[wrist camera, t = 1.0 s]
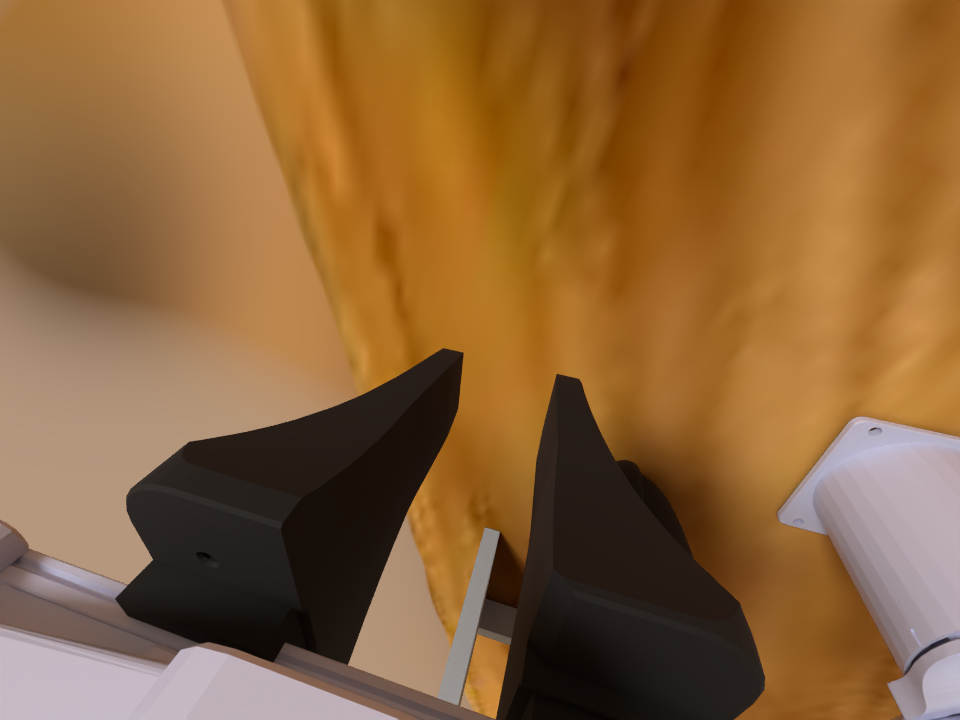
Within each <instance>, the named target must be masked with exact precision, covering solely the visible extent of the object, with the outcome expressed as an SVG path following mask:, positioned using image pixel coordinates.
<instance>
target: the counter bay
mask: <svg viewBox="0 0 960 720" xmlns="http://www.w3.org/2000/svg"><path fill="white" fill-rule="evenodd" d="M499 534H500V532H499V531H496V530H492V529H489V528H486V527H485V529H484V533H483V536H482V540H481V544H480V547H479V551H478V554H477V558H476V562H475V565H474V569H473V572H472V576H471V579H470V583H469V587H468V590H467V594H466V597H465V601H464V604H463V608H462V612H461V615H460V619H459V622H458V626H457V629H456V633H455V637H454V640H453V644H452V647H451V651H450V655H449V658H448V662H447V665H446V669H445V672H444V676H443V680H442V683H441V687H440V690H439V694H438V699H441V700H444V701H447V702H449V703H452V704H455V705H458V706H460V704H461V700H462V696H463V691H464V687H465V683H466V679H467V675H468V670H469V666H470V662H471V658H472V654H473V649H474V645H475V641H476V637H477V634H479V635H481V636H484V637H487V638H490V639H493V640H496V641H499V642H502V643H505V644H508V645H510V644H511V639H512V634H513V628H514V623H515V618H516V613H517V609H516V608H513V607H510V606H507V605H504V604H501V603H498V602H495V601H491V600H488V599H486V594H487V590H488V585H489V580H490V576H491V571H492V566H493V562H494V557H495V553H496V548H497V543H498V539H499Z"/></svg>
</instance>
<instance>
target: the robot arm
mask: <svg viewBox="0 0 960 720" xmlns="http://www.w3.org/2000/svg"><path fill="white" fill-rule="evenodd" d="M463 354H464V353H462V352H458V351H453V350H449V349H445V348H443V349H441V350H440V351H438V352H436V353H435V354H433V355H432V356H430V357H428V358H427V359H425V360H424V361H422V362H420V363H419V364H417V365H416V366H414V367H412V368H411V369H409V370H407V371H406V372H404V373H402V374H401V375H399V376H397V377H396V378H394V379H392V380H390V381H388V382H386V383H384V384H383V385H381V386H379V387H377V388H375V389H373V390H371V391H369V392H367V393H365V394H363V395H361V396H359V397H356V398H354V399H352V400H349V401H347V402H344V403H342V404H340V405H337V406H334V407H332V408H329V409H326V410H323V411H320V412H317V413H314V414H311V415H308V416H305V417H302V418H299V419H296V420H292V421H289V422H285V423H281V424H278V425H274V426H270V427H266V428H262V429H257V430H253V431H248V432H243V433H238V434H233V435H227V436H221V437H216V438H210V439H205V440H198V441H192V442H189V443H187V444H186V445H185V446H183V447H182V448H181V449H180V450H178V451H177V452H176V453H175V454H173V455H172V456H171V457H170V458H168V459H167V460H166V461H165V462H163V463H162V464H161V465H160V466H158V467H157V468H156V469H155V470H153V471H152V472H151V473H150V474H148V475H147V476H146V477H145V478H144V479H142V480H141V481H140V482H138V483H137V484H136V485H135V486H133V487H132V488H131V489H130V491H129V493H128V495H127V499H126V505H127V512H128V515H129V517H130V519H131V522H132V524H133V525H134V527H135V528H136V530H137V532H138V534H139V536H140V537H141V539H142V541H143V542H144V544H145V546H146V548H147V549H148V551H149V553H150V555H151V556H152V558H153V561H152V562H151V563H150V564H149V565H148V566H147V567H146V568H145V569H144V570H143V571H142V572H141V573H140V574H139V575H138V576H137V577H136V578H135V579H134V580H133V581H132V582H131V583H130V584H129V585H127V584H124V583H121V582H119V581H116V580H113V579H110V578H108V577H105V576H102V575H100V574H97V573H94V572H91V571H89V570H86V569H83V568H80V567H77V566H75V565H72V564H69V563H67V562H64V561H61V560H59V559H56V558H53V557H50V556H47V555H45V554H42V553H39V552H37V551H34V550H31V549H29V545H28V543H27V542H26V541H25V539H24V538H23V536H22V535H21V534H20V533H19V532H18V531H17V530H16V529H15V528H13V527H12V526H10V525H9V524H7V523H6V522H4V521H1V520H0V720H734V719H735V718H736V717H738V716H739V715H740V714H741V713H742V712H744V711H745V710H746V709H747V708H749V707H750V706H751V705H752V704H753V703H754V702H755V701H756V700H757V699H758V697H759V696H760V695H761V693H762V692H763V691H764V685H765V676H764V672H763V669H762V665H761V662H760V658H759V655H758V651H757V648H756V645H755V642H754V639H753V636H752V633H751V630H750V628H749V626H748V623H747V621H746V618H745V616H744V614H743V611H742V608H741V605H740V603H739V602H738V601H737V600H736V599H735V598H734V597H733V596H732V595H731V594H730V593H729V592H728V591H727V590H726V589H725V588H724V587H722V586H721V585H720V584H719V583H718V582H717V581H716V580H715V579H714V578H713V577H712V576H711V575H710V574H709V573H708V572H707V571H705V570H704V569H703V568H702V567H701V566H700V565H699V564H698V563H697V562H696V561H695V560H694V559H693V558H692V557H691V556H690V555H689V554H688V553H687V552H686V551H685V549H684V548H683V547H682V546H681V545H680V544H679V543H678V542H677V541H676V540H675V539H674V538H673V537H672V536H671V535H670V533H669V532H668V531H667V530H666V529H665V528H664V527H663V525H662V524H661V523H660V522H659V521H658V519H657V518H656V517H655V516H654V514H653V513H652V512H651V511H650V510H649V508H648V507H647V506H646V505H645V503H644V502H643V501H642V500H641V498H640V497H639V496H638V494H637V493H636V492H635V490H634V489H633V487H632V486H631V484H630V483H629V481H628V480H627V478H626V477H625V475H624V474H623V472H622V471H621V469H620V467H619V466H618V464H617V462H616V461H615V459H614V457H613V456H612V454H611V452H610V450H609V448H608V446H607V445H606V443H605V441H604V439H603V437H602V435H601V432H600V430H599V428H598V426H597V424H596V422H595V419H594V417H593V415H592V412H591V410H590V407H589V404H588V402H587V399H586V396H585V393H584V390H583V386H582V383H581V381H580V380H579V379H577V378H572V377H568V376H564V375H559V374H557V375H556V379H555V383H554V387H553V391H552V395H551V399H550V403H549V407H548V411H547V415H546V419H545V423H544V426H543V431H542V436H541V441H540V446H539V451H538V456H537V461H536V473H535V484H534V496H533V508H532V520H531V532H530V539H529V547H528V553H527V558H526V564H525V569H524V575H523V580H522V586H521V591H520V596H519V602H518V607H517V613H516V618H515V623H514V628H513V634H512V639H511V644H510V649H509V655H508V660H507V665H506V670H505V676H504V681H503V686H502V691H501V696H500V701H499V706H498V712H497V717H496V719H493V718H490V717H488V716H485V715H482V714H479V713H477V712H474V711H471V710H468V709H466V708H463V707H460V706H458V705H455V704H452V703H449V702H447V701H444V700H441V699H438V698H435V697H433V696H430V695H427V694H425V693H422V692H419V691H417V690H414V689H411V688H408V687H406V686H403V685H400V684H397V683H395V682H392V681H389V680H387V679H384V678H381V677H378V676H375V675H372V674H370V673H367V672H365V671H362V670H359V669H356V668H354V667H351V666H348V663H349V660H350V657H351V655H352V652H353V649H354V647H355V644H356V641H357V639H358V636H359V633H360V630H361V627H362V625H363V622H364V619H365V617H366V614H367V611H368V609H369V606H370V604H371V601H372V598H373V596H374V593H375V591H376V588H377V585H378V582H379V580H380V577H381V575H382V572H383V570H384V567H385V565H386V562H387V560H388V557H389V555H390V552H391V550H392V547H393V545H394V542H395V540H396V538H397V535H398V533H399V530H400V528H401V526H402V523H403V521H404V518H405V516H406V514H407V511H408V509H409V507H410V505H411V503H412V501H413V499H414V497H415V495H416V493H417V492H418V490H419V488H420V486H421V484H422V482H423V481H424V479H425V477H426V475H427V473H428V471H429V470H430V468H431V466H432V464H433V462H434V460H435V459H436V457H437V455H438V453H439V451H440V449H441V448H442V446H443V444H444V442H445V440H446V438H447V436H448V434H449V431H450V428H451V426H452V423H453V421H454V418H455V415H456V413H457V410H458V405H459V394H460V384H461V374H462V364H463ZM875 427H876V429H874V430H871V431H869V430H870V429H872V428H875ZM777 517H778V519H779V521H780V522H781V523H783V524H786V525H790V526H794V527H797V528H801V529H805V530H809V531H813V532H817V533H820V534H824V535H828V537H829V538H830V540H831V542H832V544H833V546H834V548H835V550H836V551H837V553H838V555H839V557H840V559H841V561H842V563H843V565H844V566H845V568H846V570H847V572H848V574H849V576H850V578H851V580H852V581H853V583H854V585H855V587H856V589H857V591H858V593H859V595H860V596H861V598H862V600H863V602H864V604H865V606H866V608H867V610H868V611H869V613H870V615H871V617H872V619H873V621H874V623H875V625H876V626H877V628H878V630H879V632H880V634H881V636H882V638H883V639H884V641H885V643H886V645H887V647H888V649H889V651H890V653H891V654H892V656H893V658H894V660H895V662H896V664H897V666H898V668H899V669H900V671H901V673H902V675H903V677H901V678H899V679H897V680H894V681H891V682H888V684H887V685H888V687H889V689H890V691H891V693H892V695H893V697H894V699H895V701H896V703H897V705H898V707H899V710H900V712H901V714H902V715H900V716H896V717H894V718H893V719H891V720H960V437H956V436H952V435H947V434H943V433H938V432H933V431H929V430H924V429H920V428H915V427H910V426H906V425H901V424H897V423H892V422H887V421H883V420H878V419H874V418H869V417H856V418H854V419H852V420H851V421H849V422H848V424H847V425H846V426H845V427H844V429H843V430H842V431H841V432H840V434H839V435H838V436H837V438H836V439H835V440H834V441H833V443H832V444H831V445H830V446H829V448H828V449H827V450H826V451H825V453H824V454H823V455H822V457H821V458H820V459H819V460H818V462H817V463H816V464H815V465H814V467H813V468H812V469H811V470H810V472H809V473H808V474H807V476H806V477H805V478H804V479H803V481H802V482H801V483H800V484H799V486H798V487H797V488H796V489H795V491H794V492H793V493H792V495H791V496H790V497H789V498H788V500H787V501H786V502H785V503H784V505H783V506H782V507H781V508H780V510H779V511H778V512H777Z"/></svg>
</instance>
